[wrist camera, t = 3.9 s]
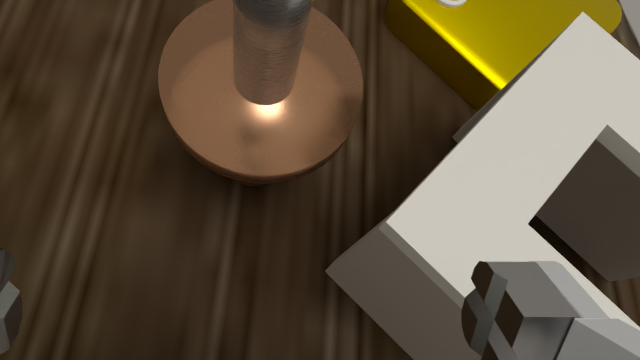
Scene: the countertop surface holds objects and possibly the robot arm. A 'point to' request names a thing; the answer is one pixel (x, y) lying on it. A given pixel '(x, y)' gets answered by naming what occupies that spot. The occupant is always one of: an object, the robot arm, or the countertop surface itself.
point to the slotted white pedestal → (513, 195)
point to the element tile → (487, 36)
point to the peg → (260, 88)
